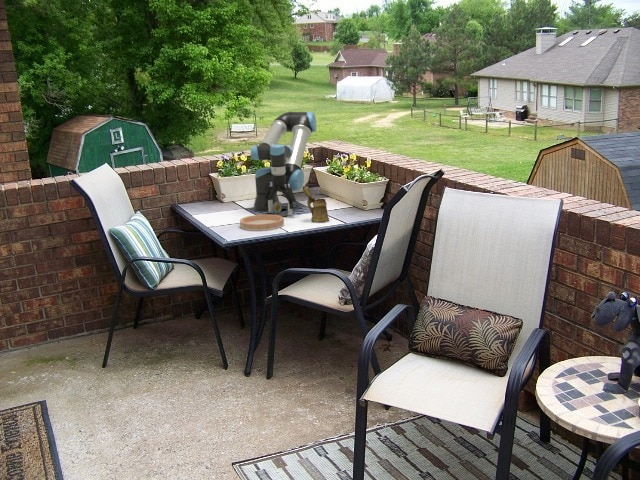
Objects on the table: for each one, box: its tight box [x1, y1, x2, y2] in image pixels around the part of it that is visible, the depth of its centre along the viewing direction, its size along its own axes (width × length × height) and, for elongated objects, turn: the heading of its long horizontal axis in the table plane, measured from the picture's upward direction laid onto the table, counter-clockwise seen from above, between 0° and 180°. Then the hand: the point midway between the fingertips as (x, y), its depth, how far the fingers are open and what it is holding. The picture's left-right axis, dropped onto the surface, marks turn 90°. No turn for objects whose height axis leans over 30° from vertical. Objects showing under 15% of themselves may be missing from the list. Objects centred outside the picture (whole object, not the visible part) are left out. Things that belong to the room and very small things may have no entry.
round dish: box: [239, 214, 285, 232], centre depth 356 cm, size 22×22×3 cm
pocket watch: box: [272, 197, 289, 218], centre depth 375 cm, size 8×8×10 cm
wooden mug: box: [302, 185, 330, 224], centre depth 360 cm, size 9×14×18 cm, turn 71°
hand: (280, 213), depth 376 cm, fingers open, 13 cm apart
